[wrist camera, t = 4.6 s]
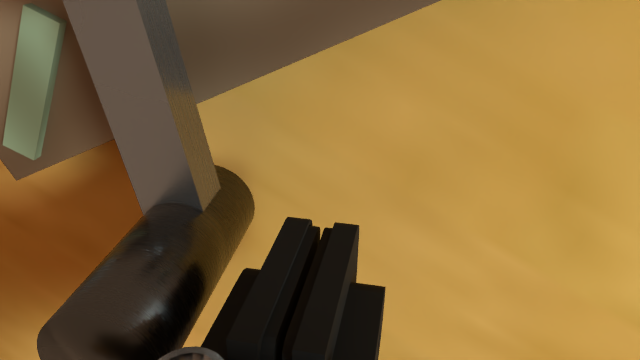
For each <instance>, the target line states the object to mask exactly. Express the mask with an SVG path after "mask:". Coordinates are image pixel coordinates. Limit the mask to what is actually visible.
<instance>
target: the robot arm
mask: <svg viewBox="0 0 640 360" xmlns="http://www.w3.org/2000/svg"><path fill="white" fill-rule="evenodd" d="M358 242H359V225H353V224H344V223H334V226H333V228H325V229H324V231H323V234H322V237H321V240H320V227H316V226H312V220H310V219H301V218H293V217H287V218H286V220H285V222H284V224H283V226H282V228H281V230H280V232H279V234H278V236H277V238H276V240H275V242H274V244H273V246H272V248H271V250H270V252H269V254H268V256H267V258H266V260H265V262H264V264H263V266H262V268H261V270H257V269H250V268H246V269H244V270H243V271H242V273H241V274H240V276H239V278H238V280H237V282H236V283H235V285H234V287H233V289H232V291H231V293H230V294H229V296H228V298H227V300H226V302H225V304H224V305H223V307H222V309H221V311H220V313H219V314H218V316H217V318H216V320H215V322H214V324H213V325H212V327H211V329H210V331H209V333H208V334H207V336H206V338H205V340H204V342H203V344H202V345H201V347H184V348H181V349H177V350H174V351H171V352H170V353H168V354H166V355H164V356H162V357H161V358H160V359H158V360H378V355H379V347H380V339H381V330H382V320H383V309H384V298H385V287H382V286H375V285H368V284H360V283H356V276H357V259H358Z"/></svg>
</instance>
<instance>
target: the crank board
mask: <svg viewBox="0 0 640 360" xmlns="http://www.w3.org/2000/svg"><path fill="white" fill-rule="evenodd" d="M438 1H440V0H166V4H167V7H168V10H169V14H170V17H171V21H172V24H173V27H174V31H175V34H176V38H177V41H178V44H179V48H180V51H181V55H182V58H183V61H184V65H185V68H186V72H187V75H188V78H189V82H190V85H191V89H192V92H193V95H194V99H195V102H196V104H198V103H200V102H202V101H205V100H207V99H210V98H212V97H214V96H217V95H219V94H221V93H224V92H226V91H228V90H231V89H233V88H235V87H238V86H240V85H242V84H245V83H247V82H250V81H252V80H254V79H257V78H259V77H261V76H264V75H266V74H268V73H271V72H273V71H275V70H278V69H280V68H282V67H285V66H287V65H290V64H292V63H294V62H297V61H299V60H301V59H304V58H306V57H308V56H311V55H313V54H315V53H318V52H320V51H322V50H325V49H327V48H330V47H332V46H334V45H337V44H339V43H341V42H344V41H346V40H348V39H351V38H353V37H355V36H358V35H360V34H362V33H365V32H367V31H370V30H372V29H374V28H377V27H379V26H381V25H384V24H386V23H388V22H391V21H393V20H395V19H398V18H400V17H402V16H405V15H407V14H410V13H412V12H414V11H417V10H419V9H421V8H424V7H426V6H428V5H431V4H433V3H435V2H438ZM113 139H115V138H114V136H113V133H112V130H111V128H110V125H109V122H108V120H107V117H106V115H105V112H104V109H103V107H102V104H101V101H100V99H99V96H98V93H97V91H96V88H95V85H94V83H93V80H92V77H91V75H90V72H89V70H88V67H87V64H86V62H85V59H84V56H83V54H82V51H81V48H80V46H79V43H78V40H77V38H76V35H75V32H74V30H73V27H72V25H71V22H70V19H69V17H68V14H67V11H66V9H65V6H64V3H63V1H62V0H0V159H1V161H2V162H3V163H4V165H5V166H6V167H7V169H8V170H9V171H10V173H11V174H12V175H13V177H14V178H15V179H16V181H17V180H19V179H21V178H24V177H26V176H28V175H31V174H33V173H35V172H38V171H40V170H42V169H45V168H47V167H50V166H52V165H54V164H57V163H59V162H61V161H64V160H66V159H68V158H71V157H73V156H75V155H78V154H80V153H82V152H85V151H87V150H90V149H92V148H94V147H97V146H99V145H101V144H104V143H106V142H108V141H111V140H113Z"/></svg>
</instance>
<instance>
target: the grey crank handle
mask: <svg viewBox="0 0 640 360" xmlns="http://www.w3.org/2000/svg"><path fill="white" fill-rule="evenodd" d="M62 1H63V3H64V6H65V9H66V11H67V14H68V17H69V19H70V22H71V25H72V27H73V30H74V32H75V35H76V38H77V40H78V43H79V46H80V48H81V51H82V54H83V56H84V59H85V62H86V64H87V67H88V70H89V72H90V75H91V77H92V80H93V83H94V85H95V88H96V91H97V93H98V96H99V99H100V101H101V104H102V107H103V109H104V112H105V115H106V117H107V120H108V122H109V125H110V128H111V130H112V133H113V136H114V138H115V141H116V144H117V146H118V149H119V152H120V154H121V157H122V160H123V162H124V165H125V168H126V170H127V173H128V175H129V178H130V181H131V183H132V186H133V189H134V191H135V194H136V197H137V199H138V202H139V205H140V207H141V210H142V213H143V215H144V216H143V217H142V218H141V219H140V220H139V221H138V222H137V223H136V224H135V225H134V227H133V228H132V229H131V230H130V231H129V232H128V233H127V234H126V235H125V237H124V238H123V239H122V240H121V241H120V242H119V243H118V244H117V245H116V246H115V248H114V249H113V250H112V251H111V252H110V253H109V254H108V255H107V256H106V257H105V259H104V260H103V261H102V262H101V263H100V264H99V265H98V266H97V267H96V268H95V270H94V271H93V272H92V273H91V274H90V275H89V276H88V277H87V278H86V280H85V281H84V282H83V283H82V284H81V285H80V286H79V287H78V288H77V289H76V291H75V292H74V293H73V294H72V295H71V296H70V297H69V298H68V299H67V300H66V302H65V303H64V304H63V305H62V306H61V307H60V308H59V309H58V310H57V312H56V313H55V314H54V315H53V316H52V317H51V318H50V319H49V320H48V321H47V323H46V324H45V325H44V326H43V327H42V329H41V330H40V332H39V334H38V338H37V349H38V354H39V357H40V359H41V360H158V359H160V358H161V357H162V356H164V355H166V354H168V353H170V352H171V351H174V350H177V349H181V348H182V347H183V345H184V343H185V341H186V339H187V338H188V336H189V334H190V332H191V330H192V329H193V327H194V325H195V323H196V321H197V319H198V318H199V316H200V314H201V312H202V310H203V309H204V307H205V305H206V303H207V301H208V300H209V298H210V296H211V294H212V292H213V291H214V289H215V287H216V285H217V283H218V281H219V280H220V278H221V276H222V274H223V272H224V271H225V269H226V267H227V265H228V263H229V262H230V260H231V258H232V256H233V254H234V252H235V251H236V249H237V247H238V245H239V243H240V242H241V240H242V238H243V236H244V234H245V233H246V231H247V229H248V227H249V225H250V224H251V222H252V219H253V216H254V210H255V207H254V200H253V197H252V194H251V192H250V190H249V188H248V187H247V185H246V184H245V183H244V182H243V181H242V180H241V179H240V178H239V177H238V176H237V175H236V174H234V173H233V172H231V171H229V170H227V169H225V168H223V167H220V166H216V165H214V163H213V160H212V156H211V153H210V150H209V146H208V143H207V139H206V136H205V133H204V129H203V126H202V122H201V119H200V116H199V112H198V109H197V106H196V102H195V99H194V95H193V92H192V89H191V85H190V82H189V78H188V75H187V72H186V68H185V65H184V61H183V58H182V55H181V51H180V48H179V44H178V41H177V38H176V34H175V31H174V27H173V24H172V21H171V17H170V14H169V10H168V7H167V4H166V0H62Z"/></svg>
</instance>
